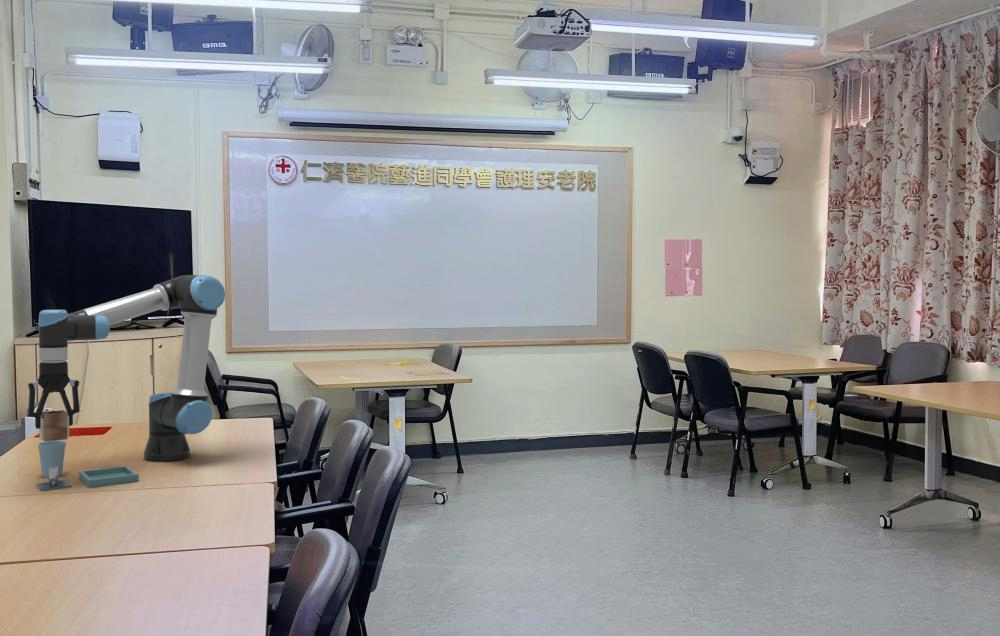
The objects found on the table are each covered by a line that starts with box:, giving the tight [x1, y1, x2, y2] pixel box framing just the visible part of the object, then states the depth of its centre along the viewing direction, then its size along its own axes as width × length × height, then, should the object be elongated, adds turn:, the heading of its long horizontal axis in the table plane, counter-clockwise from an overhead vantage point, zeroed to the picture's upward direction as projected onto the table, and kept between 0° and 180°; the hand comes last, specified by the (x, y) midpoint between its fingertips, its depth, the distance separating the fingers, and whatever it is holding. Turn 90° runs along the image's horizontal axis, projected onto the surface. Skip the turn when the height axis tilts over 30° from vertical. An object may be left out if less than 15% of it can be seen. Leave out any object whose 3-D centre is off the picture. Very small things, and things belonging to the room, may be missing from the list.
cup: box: [37, 440, 67, 478], centre depth 254 cm, size 8×8×10 cm
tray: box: [78, 465, 140, 489], centre depth 250 cm, size 14×14×2 cm
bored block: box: [41, 409, 68, 442], centre depth 241 cm, size 6×6×8 cm
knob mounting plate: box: [36, 466, 72, 492], centre depth 242 cm, size 8×8×6 cm
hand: (54, 437), depth 241 cm, fingers closed on bored block, 6 cm apart
